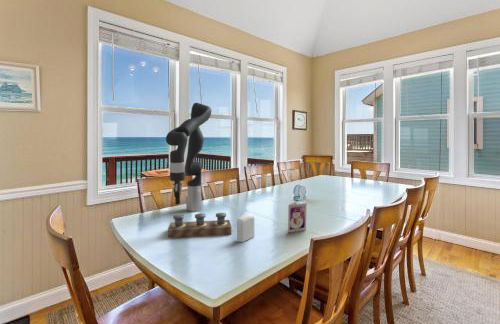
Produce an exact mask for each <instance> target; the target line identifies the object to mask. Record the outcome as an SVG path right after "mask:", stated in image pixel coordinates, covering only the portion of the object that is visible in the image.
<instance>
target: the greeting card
mask: <svg viewBox="0 0 500 324" xmlns="http://www.w3.org/2000/svg"><path fill="white" fill-rule="evenodd" d="M287 211H288V214H287V215H288V217H287V218H288V222H287V233H288V234H289V232H290V233H294V232H295V231H296V232H301V231H306V230H307V203H304V202H303V203H298V202H297V200H295V201H294V202H292V203H289V204H288V210H287Z"/></svg>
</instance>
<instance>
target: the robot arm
mask: <svg viewBox="0 0 500 324" xmlns="http://www.w3.org/2000/svg"><path fill="white" fill-rule="evenodd" d="M211 116H212V108H211V107H210V106H208V105H207V104H206V105H205V104H202V103H199V102H194V103H193V104H192V107H191V112H190V118H188V119H186V120H185V121H183V122H182V123H181V124H180V125H179V126H178V127H175V128H174V129H172V130H170V131H169V132H168V133H167V134H166V136H165V141H166V144H167V145H168V146H171V147H173V146H175V147H176V150H175V149H174V150H172V151H171V150H170V153H169V181H171V182H174V183H173V185H172V186H173V187H172V188H173V195H174V197H175V199H174V200H175V203H174V204H175V205H180V203H181V194H182V186H183V185H182V184H183V183H182V182H183V181H185V179H186V176H191V177H194V178H192V179H189V180H188V181H187V182H186V185H187V186H186V187H187V189H186V190H187V191H186V192H187V196H186V197H185V199H186V200H185V201H186V205H185V208H186V209H185V210H186V211H188V212H191V213H193V212H199V211H201V210H202V164H201V161H194V159H195V158H196V156H198V154H199V153H200V152H201V151H202V149H203V148H204V147H203V146H204V139H205V138H204V135H203V132H202V130H201V128H200V127H201V126H202V125H203V124H205V123H206V122H208V121H209V119H210V118H211ZM186 148H187V154H186V158H185V152H186Z"/></svg>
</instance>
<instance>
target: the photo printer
mask: <svg viewBox="0 0 500 324" xmlns="http://www.w3.org/2000/svg"><path fill="white" fill-rule="evenodd" d="M255 219H256V218H255V215H254V214H251V213H245V214H242V215H241V216H239V218H238V219H237V220H236V240H237V241H238V243H244V242H245V241H249V240H251V239H252V238H255V231H256V230H255V229H256V227H255V226H256V225H255V223H256V222H255V221H256V220H255Z"/></svg>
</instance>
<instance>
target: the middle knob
mask: <svg viewBox="0 0 500 324" xmlns="http://www.w3.org/2000/svg"><path fill="white" fill-rule="evenodd" d="M206 216H207V215H206V213H195V214H194V218H196V219H195V221H196V225H204V221H205V218H206Z"/></svg>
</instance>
